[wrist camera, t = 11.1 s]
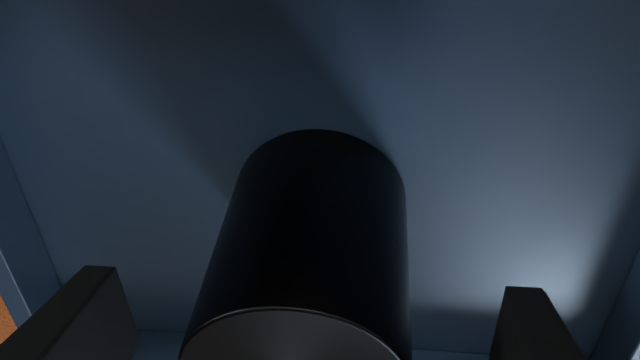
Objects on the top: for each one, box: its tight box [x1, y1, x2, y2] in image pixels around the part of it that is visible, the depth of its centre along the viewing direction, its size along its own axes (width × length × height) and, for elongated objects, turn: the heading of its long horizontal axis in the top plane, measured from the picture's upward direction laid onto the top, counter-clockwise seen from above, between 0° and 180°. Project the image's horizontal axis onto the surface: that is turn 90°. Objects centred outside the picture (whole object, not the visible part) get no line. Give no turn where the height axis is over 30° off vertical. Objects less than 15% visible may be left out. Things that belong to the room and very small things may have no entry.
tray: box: [0, 0, 640, 360], centre depth 13 cm, size 16×12×2 cm
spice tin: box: [178, 129, 412, 360], centre depth 12 cm, size 4×4×5 cm
